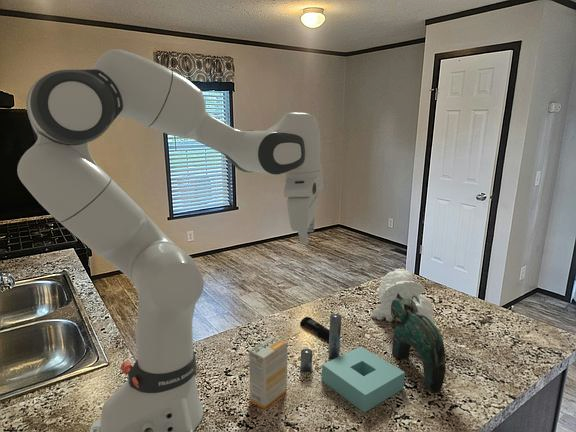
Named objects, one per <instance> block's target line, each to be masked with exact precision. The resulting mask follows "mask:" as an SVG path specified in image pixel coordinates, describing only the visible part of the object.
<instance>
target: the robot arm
mask: <svg viewBox="0 0 576 432" xmlns="http://www.w3.org/2000/svg"><path fill="white" fill-rule="evenodd" d="M25 107H26V111H27V118H28V120H29V123H30V126H31V129H32V132H33V137H34V140H35V143H34V144H33V145H32V146H31V147H30V148H28V149H27V150H26V151H25V152H24V153H23V155H22V156H21V157H20V159H19V161H18V163H17V169H16V171H17V176H18V178H19V180H20V181H21V184H23V186H24V187H25V188H26V190H28V192H29V193H30V194H31V195H32V197H33V198H34V199H35V200H36V201H37V202H38V204H39V205H41V206H42V207H43V209H45V210H46V211H47V213H49V214H50V215H51V217H53V218H54V219H55V220H56V221H57V222H58V223H60V224H61V225H62V226H63V227H64V228H66V229H67V230H68V231H69V232H70V233H71V234H73V236H75V237H76V239H78V240H80V241H81V242H82V243H83V244H84V245H86V247H87V248H89V249H90V250H91V251H92V252H93V253H95V254H97V255H99V256H100V257H101V258H103V259H104V260H105V261H107V262H109V263H110V264H111V265H113V266H114V267H115V268H116V269H118V270H119V271H120V272H121V273H123V274H124V276H126V277H127V278H128V280H130V281H131V282H132V284H133V285H134V287H135V289H136V292H137V297H138V311H137V313H138V314H137V321H136V323H135V326H134V332H135V344H136V361H135V363H134V364H133V365H132V363H131V361H129V360H126V361H123V362H122V363H121V365H120V369H121V371H122V373H123V374H124V375H127V380H126V382H124V383H123V384H122V385H121V386H120V387H119V388H118V389H117V390H116V391H115V392H114V393H113V394H111V395H110V397H108V398H107V399H106V400H105V402H104V403H103V407H102V409H101V413H100V417H99V418H98V419H96V420H94V421H93V423H92V424H91V426H90V428H89V432H194V431H195V430H196V428H197V427H198V425H200V423H201V421H202V419H203V417H204V406H203V404H202V401H201V399H200V397H199V393H198V387H197V382H196V376H197V359H196V352H195V351H194V342H193V341H194V336H193V318H194V312H195V308H196V304H197V303H198V302H199V300H200V298H201V296H202V293H203V291H204V277H203V275H202V272H201V269H200V267H199V266H198V263H197V262H196V260H195V259H194V258H193V257H192V256H190V255H189V254H188V253H186V252H185V251H184V250H183V249H182V248H180V247H179V246H178V245H177V244H176V243H174V242H173V241H172V240H171V239H170V238H169V237H168V235H166V233H164V232H163V231H162V230H161V229H160V228H159V226H157V224H156V223H155V222H154V221H153V220H152V219H151V218H150V217H149V216H148V215H147V213H146V212H145V211H144V210H143V209H142V208H141V207H140V206H139V205H138V204H137V203H136V201H134V200H133V199H132V198H131V197H130V196H129V195H128V194H127V192H125V191H124V190H123V189H122V188H121V187H120V186H119V184H117V183H116V181H114V180H113V178H112V177H111V176H110V175H109V174H107V172H106V171H105V170H103V169H102V168H101V167H100V166H99V164H97V162H96V161H95V160H94V158H93V156H92V154H91V152H90V147H89V143H90V142H93V141H96V140H97V139H98V138H99V137H101V136H102V135H103V134H104V133H106V131H108V129H109V128H110V126H111V125H112V123H114V121H115V120H116V118H118V117H122V118H126V119H130V120H132V121H135V122H137V123H139V124H141V125H143V126H145V127H148V128H150V129H152V130H155V131H158V132H160V133H163V134H166V135H169V136H174V137H179V138H182V139H183V138H184V139H190V140H194V141H196V142H198V143H200V144H202V145H204V146H207V147H209V148H211V149H212V150H215V151H217V152H218V153H221V154H223V155H224V157H226V158H227V160H228V161H229V162H230V163H231V164H232V165H233V166H234V167H235V168H236V169H237V170H239V171H241V172H244V173H256V174H257V173H258V174H262V175H269V176H277V175H281V174H284V179H285V180H284V181H285V185H284V187H283V194H284V195H283V196H284V197H285V198H286V199H287V200H286V201H287V202H286V204H287V212H288V218H289V224H290V228H291V230H292V232H293V231H294V232H297V233H298V237H299V244H300V245H302V246H306V245H308V244H309V235H308V233H313V232H315V222H316V221H315V220H316V215H317V213H318V211H319V210H320V209H319V208H320V203H319V201H320V200H319V199H320V198H319V191H321V190H323V189H324V185H323V184H324V182H323V181H324V180H323V166H322V164H321V153H322V142H321V133H320V127H319V123H318V120H317V118H316V117H315V116H314V115H312V114H310V113H306V112H286V113H285V114H283V117H282V118H281V119H279V121H278V122H276V123H275V124H274V125H272V126H271V127H269V128H267V129H266V130H253V129H252V130H251V129H250V130H249V129H236V128H233V127H232V126H231V125H228V124H226V123H225V122H223V121H221V120H220V119H217V118H215V117H214V116H212V115H210V114H209V113H208V112H207V111H206V107H207V106H206V101H205V97H204V95H203V92H202V90H201V89H199V88H198V87H197V86H196V85H195V84H193V83H192V82H191V80H189V79H187V78H186V77H184V76H182V75H181V74H178V73H177V72H176V71H173V70H172V69H169V68H168V67H166V66H165V65H163V64H160V63H158V62H156V61H154V60H151V59H149V58H146V57H144V56H141V55H140V54H139V55H138V54H136V53H132V52H129V51H127V50H125V49H120V48H119V49H118V48H113V49H109V50H108V51H106V52H104V53H103V54H102V55H100V56H99V58H98V59H97V60H96V62H95V64H94V66H93V68H91V69H88V68H87V69H60V70H56V71H51V72H50V73H47V74H45V75H44V76H42V77H41V78H39V79H37V80H36V81H35V82H34V83H33V84H32V86H31V87H30V88H29V90H28V93H27V95H26V105H25Z"/></svg>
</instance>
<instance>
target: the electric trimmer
mask: <svg viewBox="0 0 576 432" xmlns="http://www.w3.org/2000/svg"><path fill="white" fill-rule="evenodd" d="M299 324H300V326H301V327H303V326H304V327H306V328H307V329H309V330H311V331H312V332H315V334H316V335H317V336H318V337H320V338H322V339H325V340H326V341H329V334H330V329H329V328H326V327H325V326H323V324H321V323H319V322H318V321H316V320H314V319H313V318H312V317H310V316H304V317H303V318H302V319H301V321H300V323H299Z"/></svg>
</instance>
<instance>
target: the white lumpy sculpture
mask: <svg viewBox="0 0 576 432" xmlns="http://www.w3.org/2000/svg"><path fill="white" fill-rule="evenodd" d="M424 291H425V287H424V285H422V284H421V283H419V282H417V281H414V276H413V274H412V273H411V272H410V271H409V270H407V269H405V268H400V267H399V268H395V269H394V271H389V272H387V274H385V275H384V277H382V279H381V280H380V283H379V287H378V288H376V292H377V293H376V294H377V296H378V298H379V301H380V305H378V304H377V305H376V307H375V308H374V309H373V311H372V312H371V315H370V317H371V318H373V319H375V318H376V319H377V320H380V321H381V320H384V319H385V320H386V321H387V322H389V323H390V322H393V321H395V320H394V319H393V318H392V316H391V304H392V301H393V300H394V299H396V297H397V294H399V295H400V296H401V297H402V298H410V299H412V296H414V295H415V296H417V297H418V299H419V302H420V304H419V303H418V301H417V300H416V298H415V297H413V301H414V302H415V304H416V306H417V309H418V312H419V313H420V314H422V315H424V316H426V317H428V318H429V319H430V320H431V321H432V322H433V324H434V322H435V320H434V317H433V316H434V314H435V311H434V307H433V304H432V302H431V301H430V300H429V299H428V298H427V296H426V295H424V294H423V293H424Z"/></svg>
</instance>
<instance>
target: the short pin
mask: <svg viewBox="0 0 576 432" xmlns="http://www.w3.org/2000/svg"><path fill="white" fill-rule="evenodd" d="M300 371H301V372H303V373H311V372H312V371H313V350H312V349H310V348H307V347H306V348H302V349H301V350H300Z"/></svg>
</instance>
